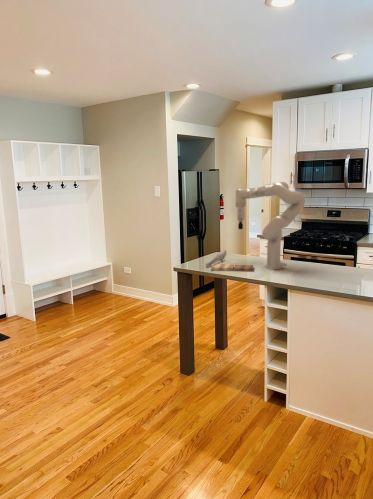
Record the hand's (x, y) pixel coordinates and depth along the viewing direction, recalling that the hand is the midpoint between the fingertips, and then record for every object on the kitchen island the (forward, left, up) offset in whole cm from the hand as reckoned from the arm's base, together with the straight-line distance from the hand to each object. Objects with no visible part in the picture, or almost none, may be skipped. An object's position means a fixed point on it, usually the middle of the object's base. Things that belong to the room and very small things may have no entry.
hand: (240, 228), depth 291 cm
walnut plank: (-4, +21, -27) cm, 34 cm away
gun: (+18, +4, -28) cm, 33 cm away
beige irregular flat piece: (+11, +21, -27) cm, 36 cm away
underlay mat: (+4, +21, -27) cm, 35 cm away
